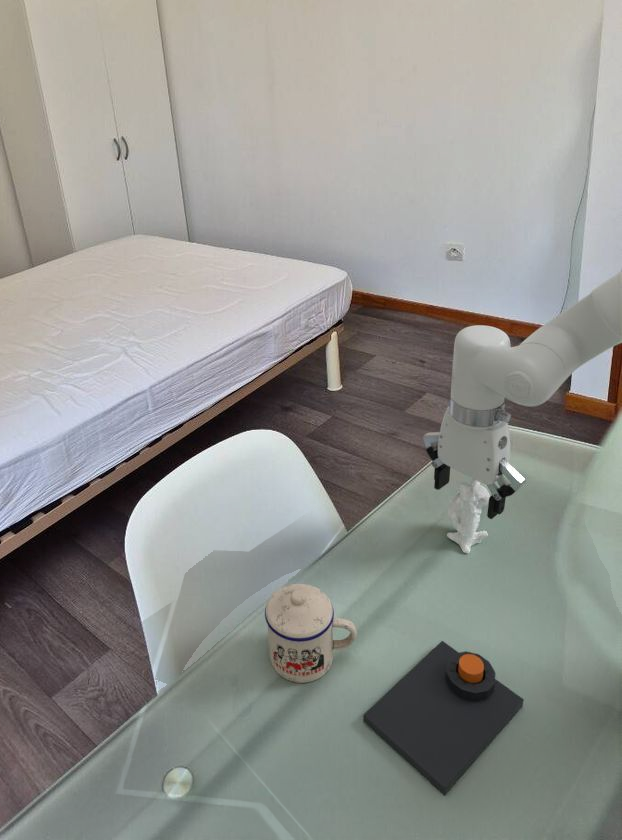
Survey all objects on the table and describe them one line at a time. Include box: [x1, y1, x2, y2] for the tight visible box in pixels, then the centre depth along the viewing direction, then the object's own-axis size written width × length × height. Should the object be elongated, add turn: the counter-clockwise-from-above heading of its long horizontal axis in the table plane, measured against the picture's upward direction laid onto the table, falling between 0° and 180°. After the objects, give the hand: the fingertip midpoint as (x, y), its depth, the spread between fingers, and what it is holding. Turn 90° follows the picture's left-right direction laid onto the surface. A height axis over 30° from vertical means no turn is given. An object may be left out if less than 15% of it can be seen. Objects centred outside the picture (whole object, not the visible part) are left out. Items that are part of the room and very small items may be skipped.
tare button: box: [458, 654, 484, 684], centre depth 87 cm, size 3×3×2 cm
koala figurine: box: [446, 478, 491, 555], centre depth 109 cm, size 8×7×12 cm
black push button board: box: [362, 640, 524, 796], centre depth 85 cm, size 16×12×3 cm
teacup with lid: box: [264, 583, 357, 684], centre depth 92 cm, size 12×9×12 cm
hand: (467, 499), depth 109 cm, fingers open, 9 cm apart
